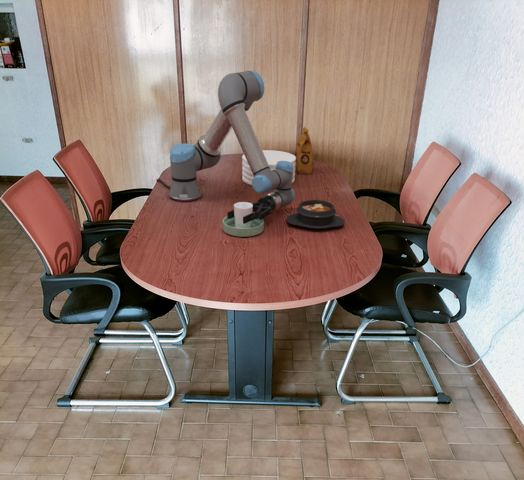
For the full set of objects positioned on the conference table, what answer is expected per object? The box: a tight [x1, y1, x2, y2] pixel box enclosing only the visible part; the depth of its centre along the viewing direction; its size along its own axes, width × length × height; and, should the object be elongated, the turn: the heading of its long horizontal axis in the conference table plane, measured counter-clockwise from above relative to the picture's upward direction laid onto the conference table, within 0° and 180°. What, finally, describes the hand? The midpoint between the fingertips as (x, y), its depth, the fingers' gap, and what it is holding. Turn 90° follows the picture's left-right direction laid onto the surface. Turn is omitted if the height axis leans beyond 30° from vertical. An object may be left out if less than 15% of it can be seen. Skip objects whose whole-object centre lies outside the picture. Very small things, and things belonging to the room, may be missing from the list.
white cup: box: [233, 201, 254, 228], centre depth 216 cm, size 8×8×10 cm
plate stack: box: [241, 149, 296, 186], centre depth 274 cm, size 28×28×12 cm
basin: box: [221, 216, 265, 238], centre depth 218 cm, size 17×17×4 cm
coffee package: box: [294, 126, 314, 175], centre depth 285 cm, size 10×12×22 cm
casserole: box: [286, 199, 345, 230], centre depth 223 cm, size 25×19×8 cm
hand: (235, 218), depth 212 cm, fingers closed on white cup, 7 cm apart
